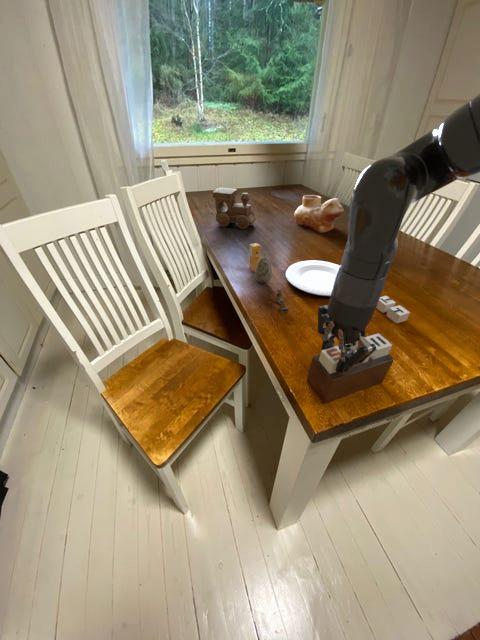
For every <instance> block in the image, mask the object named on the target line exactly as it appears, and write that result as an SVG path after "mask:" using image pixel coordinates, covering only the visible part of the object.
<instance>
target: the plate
mask: <svg viewBox="0 0 480 640" xmlns="http://www.w3.org/2000/svg"><path fill="white" fill-rule="evenodd" d="M339 268H340V265H339V264H337V263H334V262H330V261H324V260H313V259H312V260H311V259H310V260H302V261H298V262H295V263H292V264H291V265H289V266H288V268H286V271H285V278H286V280H287V282H289V284H290V285H291V286H293V287H295V288H296V289H297V290H299V291H302V292H303V293H308V294H310V295H316V296H322V297H331V293H332V289H333V285H334V282H335V278H336V275H337V272H338V270H339Z"/></svg>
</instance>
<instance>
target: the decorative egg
mask: <svg viewBox="0 0 480 640" xmlns="http://www.w3.org/2000/svg"><path fill="white" fill-rule="evenodd" d="M272 276H273V266H272V262H271V260H270V259H269V257H267V256H262V257H260V260H259V261H258V263H257V266H256V269H255V271H254V277H255V279H256V281H257V282H258V283H259V284H267V283H269V282H270V280H271V279H272Z"/></svg>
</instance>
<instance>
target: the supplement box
mask: <svg viewBox="0 0 480 640" xmlns="http://www.w3.org/2000/svg"><path fill="white" fill-rule="evenodd" d="M248 245H249V246H248V247H249V251H248V252H249V258H248V259H249V263H248V265H249V270H250V271H251V272H252V273H254V272H255V269H256V266H257V263H258V261H259V260H260V259H261V249H262V248H261V247H262V245H261V244H259V243H258V242H255V243H250V244H248Z"/></svg>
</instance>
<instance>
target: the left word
mask: <svg viewBox="0 0 480 640" xmlns="http://www.w3.org/2000/svg"><path fill="white" fill-rule="evenodd" d="M365 339H366V340H367V342H368V343H369V344H375V346H376V350H375V351H374V352H373V353H372V354H371V355H370V356H369V357H371V358H372V359H373V360H374V359H377V358H380V357H383V356H386V355H388V354H389V353H390V351H391V349H392V347H393V344H392V343H391V342H390V341H388V340H387V339H386V338H385V337H384V336H383V335H382V334H380V333H379V332H378V333H375V334H372V335H368V336H365ZM347 354H349V351H348V352H347ZM369 357H368V358H367V359H366V360H365V361H363V362H362V363H365V362H367V361H368V359H369ZM362 363H360V364H362ZM357 365H359V364H357ZM354 366H356V365H354ZM352 367H353V366H352Z"/></svg>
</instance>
